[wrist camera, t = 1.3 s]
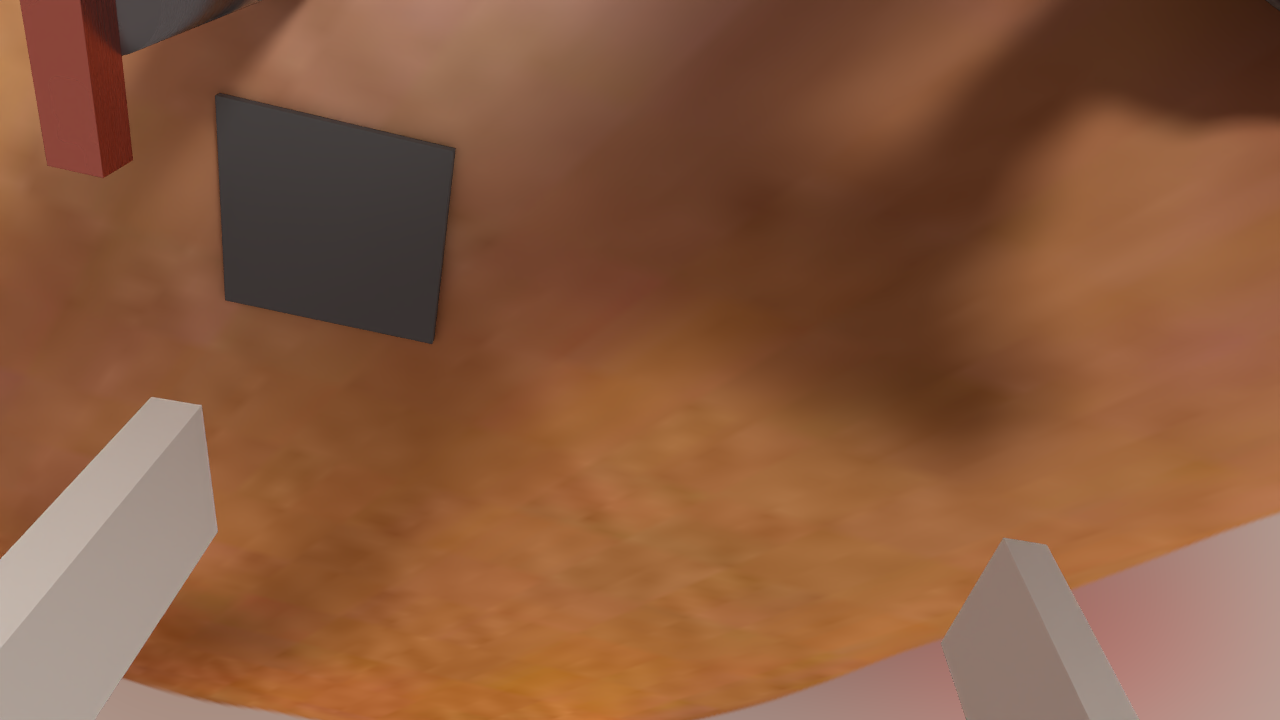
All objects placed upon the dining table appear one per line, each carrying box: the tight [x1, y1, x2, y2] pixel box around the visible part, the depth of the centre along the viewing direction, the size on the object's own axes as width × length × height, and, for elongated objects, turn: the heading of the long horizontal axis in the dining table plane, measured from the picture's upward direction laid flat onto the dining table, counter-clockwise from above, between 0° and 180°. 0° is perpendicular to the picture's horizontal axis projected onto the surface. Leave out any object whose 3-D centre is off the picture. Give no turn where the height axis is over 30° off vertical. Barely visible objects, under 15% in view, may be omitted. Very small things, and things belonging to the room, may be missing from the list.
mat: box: [215, 93, 456, 344], centre depth 37 cm, size 10×10×1 cm
